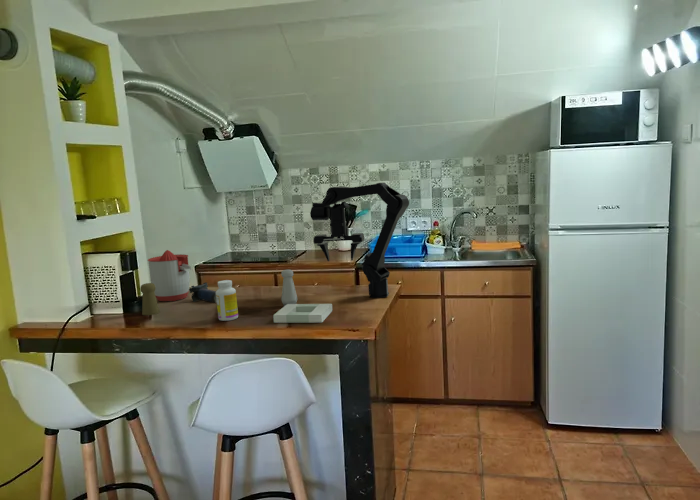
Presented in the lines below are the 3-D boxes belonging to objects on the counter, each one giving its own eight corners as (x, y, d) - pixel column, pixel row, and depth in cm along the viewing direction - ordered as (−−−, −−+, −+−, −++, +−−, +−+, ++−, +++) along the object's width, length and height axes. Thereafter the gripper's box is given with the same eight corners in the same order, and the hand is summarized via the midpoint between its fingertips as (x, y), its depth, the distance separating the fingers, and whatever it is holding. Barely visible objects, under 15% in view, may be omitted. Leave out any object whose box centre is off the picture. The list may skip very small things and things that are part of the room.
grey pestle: (289, 308, 194) (286, 272, 193) (278, 306, 198) (275, 271, 196) (301, 304, 199) (298, 269, 197) (290, 302, 203) (287, 268, 201)
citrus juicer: (179, 304, 212) (173, 253, 209) (143, 302, 218) (137, 253, 215) (204, 294, 226) (199, 246, 223) (170, 293, 233) (164, 247, 230)
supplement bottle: (242, 316, 187) (238, 279, 185) (231, 321, 181) (228, 283, 179) (225, 315, 190) (221, 279, 188) (214, 321, 183) (210, 283, 182)
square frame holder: (332, 310, 187) (331, 303, 187) (321, 322, 173) (321, 314, 173) (287, 311, 190) (287, 304, 190) (273, 322, 177) (273, 315, 176)
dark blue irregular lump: (192, 305, 215) (212, 309, 208) (187, 287, 213) (208, 291, 206) (209, 296, 222) (230, 300, 215) (205, 278, 219) (226, 282, 213)
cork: (143, 316, 196) (139, 286, 195) (141, 312, 202) (137, 283, 200) (160, 313, 199) (157, 283, 197) (158, 310, 204) (154, 281, 203)
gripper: (365, 217, 213) (367, 256, 215) (319, 219, 217) (322, 257, 219) (360, 219, 202) (362, 261, 205) (311, 221, 206) (314, 262, 209)
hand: (340, 260), depth 210 cm, fingers open, 9 cm apart
